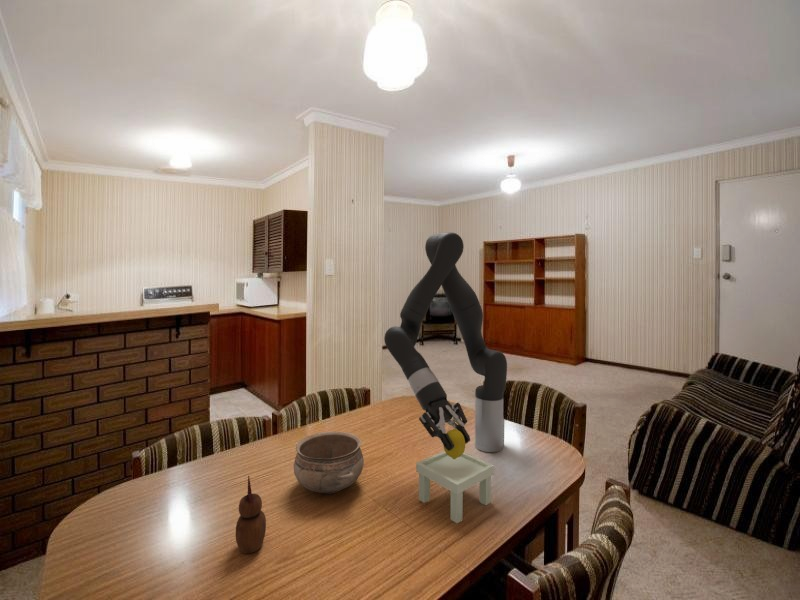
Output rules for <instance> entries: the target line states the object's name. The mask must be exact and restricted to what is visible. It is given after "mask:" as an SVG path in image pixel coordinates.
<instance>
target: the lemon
mask: <svg viewBox="0 0 800 600" xmlns="http://www.w3.org/2000/svg"><path fill="white" fill-rule="evenodd" d="M446 433H447V434H448V435H449V437H450V439H451V441H452V443H453V444H454V448H453V449H451V450H450V451H448V450H447V449H446V448H445V447H444V446H443V449H444V450H443V451H445V452H446V454H447V455H448V456H449V457H452V459H456V458H458V457H460V456H461V455H462V454H463V453H465V449H466V444H465V439H464V436H463V434H462V433H461V432H460V431H458V430H456V429H455V428H452V429H449V430H448V431H446Z"/></svg>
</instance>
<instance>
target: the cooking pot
mask: <svg viewBox="0 0 800 600" xmlns="http://www.w3.org/2000/svg"><path fill="white" fill-rule="evenodd" d="M361 445H362V441H361V438H359V436H357V435H355V434H353V433H349V432H344V431H323V432H318V433H314V434H311V435H308V436H305V437H304V438H301V440H299V441H298V442H297V444H296V446H295V451H296V455H295V457H294V458H295V459H294V463H293V473H294V476H295V479H296V480H297V482H298V483H299V484H300V485H301V486H302V487H304V488H305V489H307V490H309V491H311V492H315V493H319V494H320V493H321V494H324V495H331V494H332V495H333V494H335V493H338V492H340V491H342V490H344V489H346V488H348V487H350V486H351V485H353V484H354V483H355V482H356V481H357V480H358V478H359V477H360V476H361V474H362V471H363V469H364V465H365V464H364V462H365V461H364V460H365V459H364V455H363V452H362V449H361Z"/></svg>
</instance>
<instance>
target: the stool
mask: <svg viewBox="0 0 800 600" xmlns="http://www.w3.org/2000/svg"><path fill="white" fill-rule="evenodd" d="M415 471H416V473H418V500H419V501H420V502H422V503H424V504H425V503H427V502H429V501H430V500H431V481H433V482H434V483H436V484H437V485H439V486H441V487H442V488H444V489H447V490H449V491H450V520H451V521H452V522H454V523H455V524H458V523H460V522H462V521H463V511H464V510H463V504H464V503H463V497H464V496H463V492H465V491H466V490H467V489H470V488H472V487H474V486H475V485H477V484H479V503H481V504H482V505H484V506H487V505H490V504H491V503H492V501H491V500H492V499H491V498H492V496H491V495H492V494H491V493H492V476H494V475H495V466H494V465H493V464H491V463H489V462H487V461H485V460H482V459H479V458H478V457H476V456H473V455H470V454H469V453H466V452H464V453H463V454H462V455H461V456H460V457H458V458H456V459H452V457H449V456H448V455H447V454H446V452H445V450H443V451H441V452H439V453H436V454H434V455H432V456H429V457H427V458H424V459H422V460H420V461H417V462H416V463H415Z"/></svg>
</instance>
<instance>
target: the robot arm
mask: <svg viewBox="0 0 800 600" xmlns="http://www.w3.org/2000/svg"><path fill="white" fill-rule="evenodd" d="M424 247H425V249H424V250H425V254H426V256H427V259H428V261H429V262H430V267H429V269H428V270H427V272H426V273H425V274H424V275H423V277H422V278H421V279H420V280H419V282H418V283H417V284H416V285H415V286H414V287H413V289H412V290H411V292H410V293H409V295H408V297H407V299H406V300H405V302H404V304H403V306H402V309H401V311H400V316H399V317H400V319H401V323H400V326H391V327H389V328H388V329H387V330H386V332H385V333H384V340H383V341H384V344H385V347H386V348H387V350H388V351H389V353H390V355H391V356H392V357H393V359H394V360H395V361H396V362H397V364H398V365H399V366H400V368H401V370H402V372H403V375H404V377H405V378H406V379H407V381H408V384H409V386H410V387H409V388H410V389H411V390H412V393H413V394H414V397H416V400H417V402H418V403H419V405H420V407H421V409H422V410H423V411H425V412H423V413H422V415H421V416H420V417H419V418H418V421H419V422H420V423H421V425H422V426H423V427H424V428H425V430H426V431H427V433H428V434H429V435H430V438H434V437H437V438H439V440H440V441H441V443H442V445H443V448H444V447H445V448H446V449H447V450H448V451H450V450H451V449H453V448H454V444H453V443H452V441H451V439H450V437H449V435H448V434H447V431H446V426H445V424H448V425H449V426H451V427H453V429H456V430H458V431H460V432H461V433H462V434H463V436H464V439H465V445H466V444H468V443H469V442H470V441H471V438H470V435H469V433H468V431H467V430H466V427H465V425H466V424H467V423H468V419H467V417H466V415H465V413H464V411H463V407H462V406H461V404H460V403H459V402H456V403H455V404H452V403H450V402H449V400H448V394H447V393H446V390H444V388H443V386H442V384H441V383H440V382H439V379H438V378H437V376H436V374H435V373H434V372H433V370H431V368H430V366H429V365H428V362H427V361H426V360H425V358H424V356H423V355H422V354H421V353H420V352H418V351H417V349H416V348H415V346H416V344H417V341H418V338H419V334H420V331H421V326H422V323H423V320H424V319H425V317H426V315H427V312H428V310H429V308H430V306H431V305H432V302H433V300H434V298H435V297H436V294H437V293H438V292H439V290H440V288H442V290H443V292H444V295H445V297H446V300H447V302H448V304H449V308H450V310H451V313H452V315H453V318H454V320H455V322H456V324H457V327H458V329H459V331H460V335H461V337H462V340H463V343H464V346H465V349H466V353H467V357H468V361H469V364H470V367H471V369H472V371H474V372H475V373H476V374H477V375H480V376H483V377H484V378H483V379H484V380H483V381H484V382H483V384H481V385H478V386H477V387H476V388H475V392H474V398H475V399H474V403H475V404H474V409H475V411H474V412H475V413H474V415H475V416H474V423H475V424H474V446H475V448H476V449H477V450H478V451H482V452H486V453H497V452H500V451H502V450H503V447H504V446H505V418H504V393H505V392H506V391H505V390H506V388H507V387H506V386H507V377H508V375H507V374H508V362H507V357H506V356H505V354H504V353H503V352H502V351H499V350H495V349H491V348H488V347H487V345H486V342H485V340H484V338H483V335H482V327H483V319H484V313H483V309H482V306H481V304H480V301H479V297H478V295H477V294H476V292H475V290H474V289H473V287H472V286H471V285H470V284H469V283H468V282H467V281H466V279H465V278H464V277H463V276H462V274H461V273H460V272H459V270H458V268H457V266H456V265H457V263H458V262H459V260H460V259H461V257H462V254H463V253H464V240H463V238H462V237H461V236H460V235H459V234H457V232H447V231H446V232H440V233H435V234H431V235H430V236H428V238H427V239H426V241H425V246H424Z"/></svg>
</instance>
